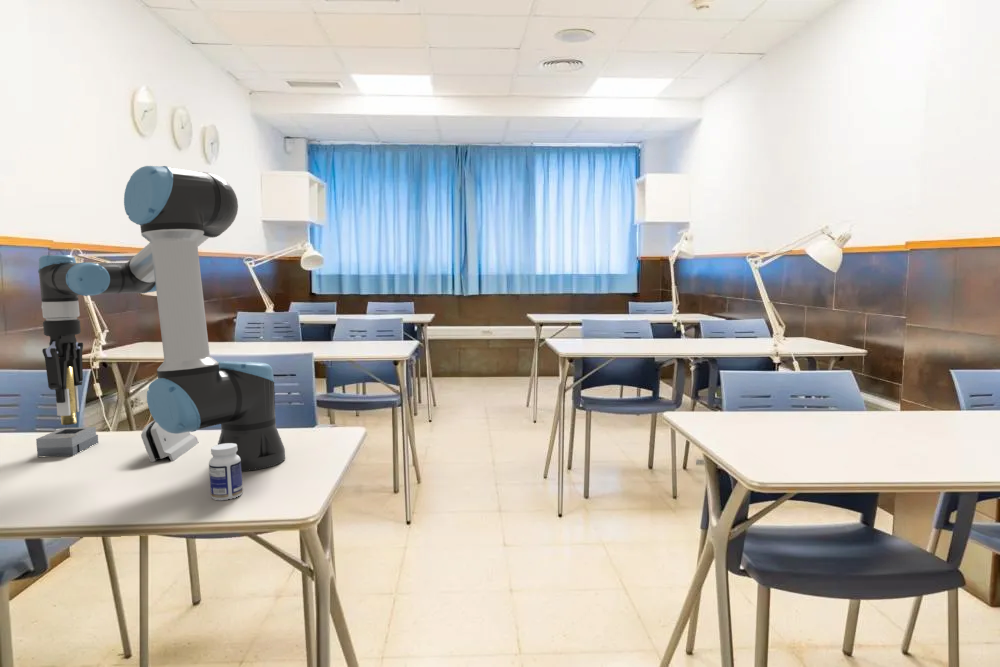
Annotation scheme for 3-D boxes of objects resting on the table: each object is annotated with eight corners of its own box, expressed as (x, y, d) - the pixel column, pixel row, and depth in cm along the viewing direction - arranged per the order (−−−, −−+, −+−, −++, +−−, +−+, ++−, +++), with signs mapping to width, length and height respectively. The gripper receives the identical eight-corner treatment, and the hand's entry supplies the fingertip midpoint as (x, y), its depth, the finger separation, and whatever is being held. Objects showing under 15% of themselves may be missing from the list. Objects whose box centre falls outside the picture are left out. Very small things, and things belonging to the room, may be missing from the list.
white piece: (172, 461, 151) (155, 421, 150) (153, 468, 151) (135, 429, 150) (199, 442, 168) (183, 406, 166) (181, 449, 167) (165, 413, 166)
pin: (72, 424, 161) (68, 368, 159) (58, 425, 160) (54, 368, 159) (79, 421, 164) (75, 366, 162) (66, 422, 164) (61, 366, 162)
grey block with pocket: (65, 444, 167) (64, 427, 167) (98, 443, 168) (97, 426, 167) (37, 457, 156) (36, 438, 155) (73, 455, 156) (71, 437, 156)
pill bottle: (237, 489, 131) (234, 440, 130) (246, 496, 127) (244, 446, 126) (207, 495, 128) (204, 445, 127) (215, 503, 123) (213, 451, 122)
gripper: (64, 316, 167) (70, 407, 170) (24, 321, 151) (32, 421, 154) (95, 316, 168) (101, 406, 170) (58, 321, 152) (65, 420, 154)
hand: (68, 413), depth 162 cm, fingers closed on pin, 3 cm apart
